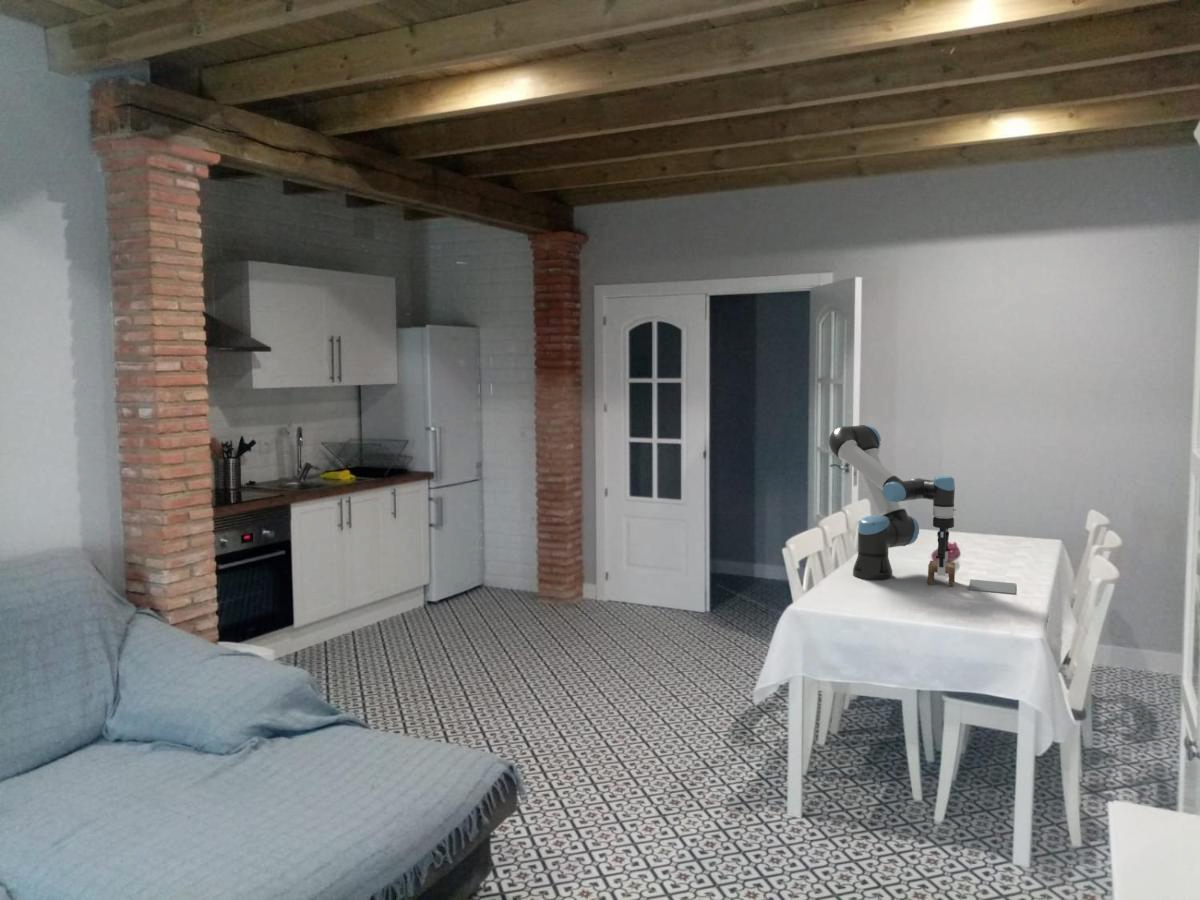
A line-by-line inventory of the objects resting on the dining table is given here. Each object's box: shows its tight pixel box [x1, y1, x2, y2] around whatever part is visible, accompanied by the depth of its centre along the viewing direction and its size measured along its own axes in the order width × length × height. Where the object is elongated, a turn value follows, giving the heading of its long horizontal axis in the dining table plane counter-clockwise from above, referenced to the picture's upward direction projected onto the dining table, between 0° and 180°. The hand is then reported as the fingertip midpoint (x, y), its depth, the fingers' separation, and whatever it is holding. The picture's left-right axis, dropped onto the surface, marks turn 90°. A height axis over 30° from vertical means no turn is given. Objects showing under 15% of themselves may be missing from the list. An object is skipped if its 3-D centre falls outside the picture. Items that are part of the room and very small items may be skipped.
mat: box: [968, 579, 1017, 595], centre depth 345 cm, size 16×16×1 cm
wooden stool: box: [927, 560, 956, 588], centre depth 351 cm, size 9×9×8 cm
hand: (942, 571), depth 351 cm, fingers open, 13 cm apart
